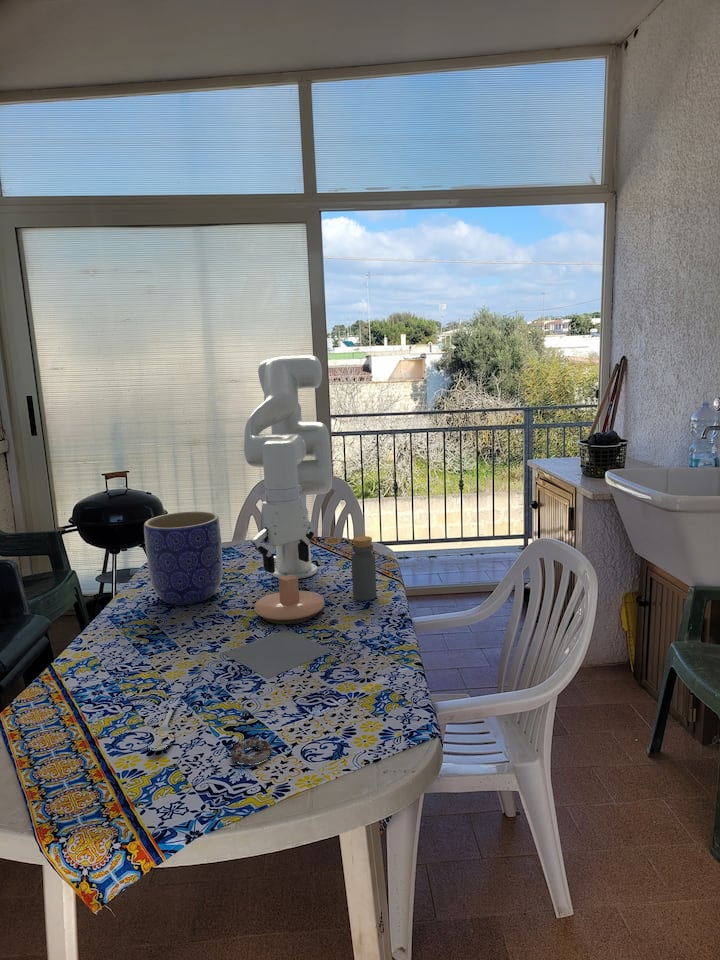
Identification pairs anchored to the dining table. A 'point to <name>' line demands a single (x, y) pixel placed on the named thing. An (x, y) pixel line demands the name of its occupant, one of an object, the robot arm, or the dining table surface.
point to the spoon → (164, 728)
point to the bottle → (363, 569)
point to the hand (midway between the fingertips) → (287, 566)
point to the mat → (277, 653)
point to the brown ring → (290, 620)
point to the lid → (289, 601)
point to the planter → (184, 556)
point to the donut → (239, 749)
